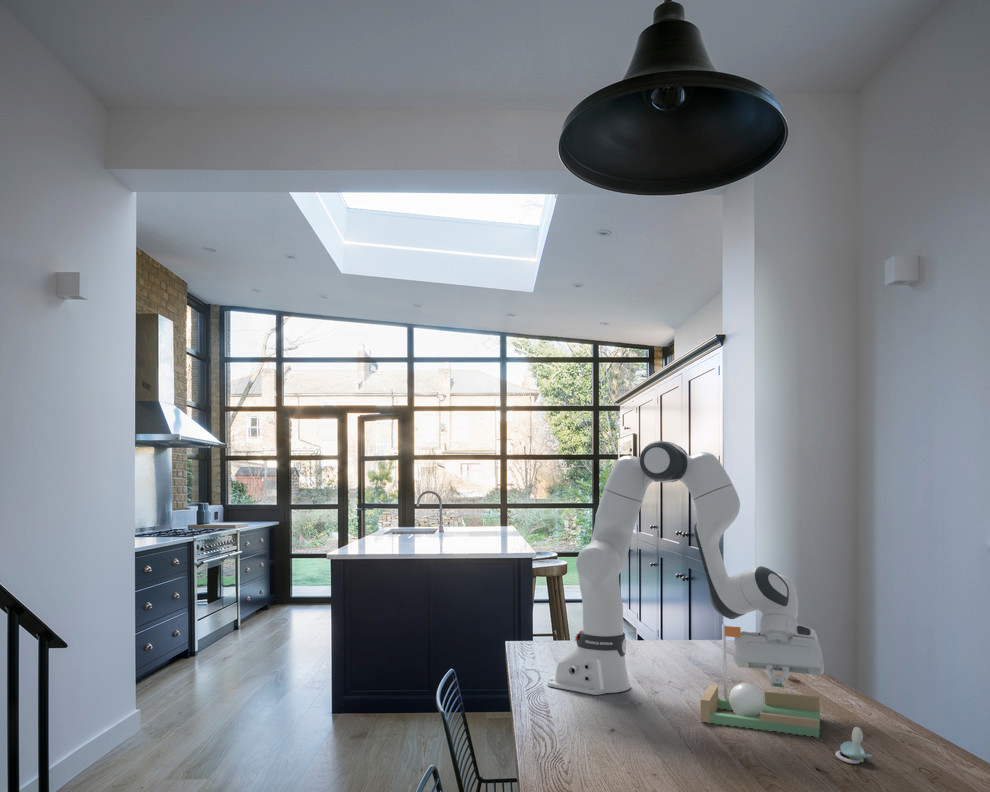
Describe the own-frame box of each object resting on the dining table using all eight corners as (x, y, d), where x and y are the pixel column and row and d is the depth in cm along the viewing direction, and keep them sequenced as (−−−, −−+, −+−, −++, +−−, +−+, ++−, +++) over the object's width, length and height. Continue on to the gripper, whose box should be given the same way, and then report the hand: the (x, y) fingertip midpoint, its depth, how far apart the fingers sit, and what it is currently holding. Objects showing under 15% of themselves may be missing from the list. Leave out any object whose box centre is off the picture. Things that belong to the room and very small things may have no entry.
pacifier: (845, 767, 144) (876, 766, 143) (842, 733, 144) (873, 733, 144) (830, 753, 151) (859, 753, 151) (827, 721, 152) (856, 721, 151)
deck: (701, 722, 170) (698, 633, 172) (710, 705, 182) (707, 622, 185) (819, 737, 159) (814, 642, 162) (820, 718, 172) (815, 630, 174)
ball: (771, 711, 166) (743, 730, 168) (773, 702, 174) (747, 720, 176) (746, 680, 169) (719, 699, 171) (750, 672, 177) (724, 691, 179)
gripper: (733, 623, 185) (729, 672, 175) (822, 630, 176) (823, 683, 166) (736, 638, 188) (732, 687, 178) (823, 646, 180) (824, 698, 170)
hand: (777, 685), depth 172 cm, fingers closed
